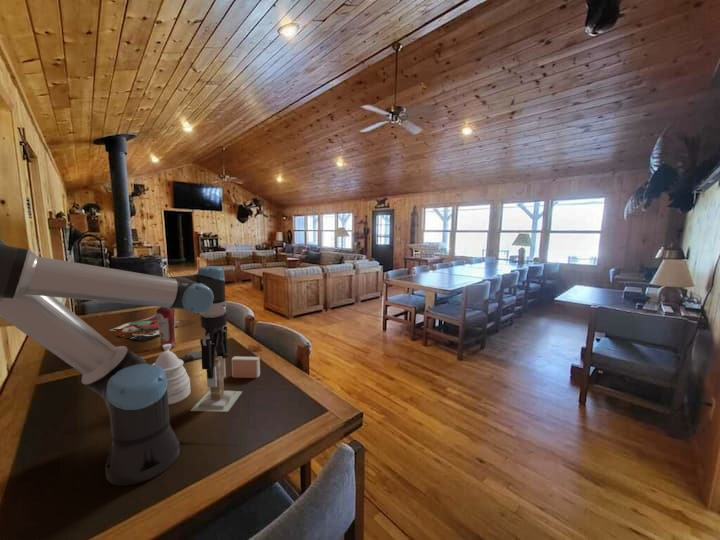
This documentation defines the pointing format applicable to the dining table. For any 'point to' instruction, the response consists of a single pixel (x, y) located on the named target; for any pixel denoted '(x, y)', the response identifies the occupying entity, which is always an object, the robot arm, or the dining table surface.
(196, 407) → the mat
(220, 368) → the wooden handled stamp
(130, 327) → the multicoloured flat piece
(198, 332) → the dining table surface
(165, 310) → the dark red glass bottle
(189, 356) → the cleaver
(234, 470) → the dining table surface
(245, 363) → the tile
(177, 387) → the honey pot
